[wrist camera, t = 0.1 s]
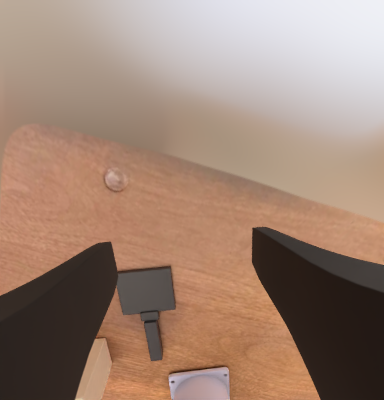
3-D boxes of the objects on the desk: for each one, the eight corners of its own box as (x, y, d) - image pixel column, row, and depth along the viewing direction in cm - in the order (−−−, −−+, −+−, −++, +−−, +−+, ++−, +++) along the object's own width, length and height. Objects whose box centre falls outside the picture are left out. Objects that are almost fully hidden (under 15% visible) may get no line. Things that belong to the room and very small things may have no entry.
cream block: (112, 363, 26) (93, 427, 20) (77, 367, 25) (48, 433, 20) (105, 337, 24) (83, 398, 19) (68, 341, 24) (34, 404, 18)
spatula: (180, 350, 26) (181, 357, 25) (133, 356, 26) (132, 363, 25) (170, 266, 22) (169, 271, 21) (114, 271, 22) (112, 277, 21)
